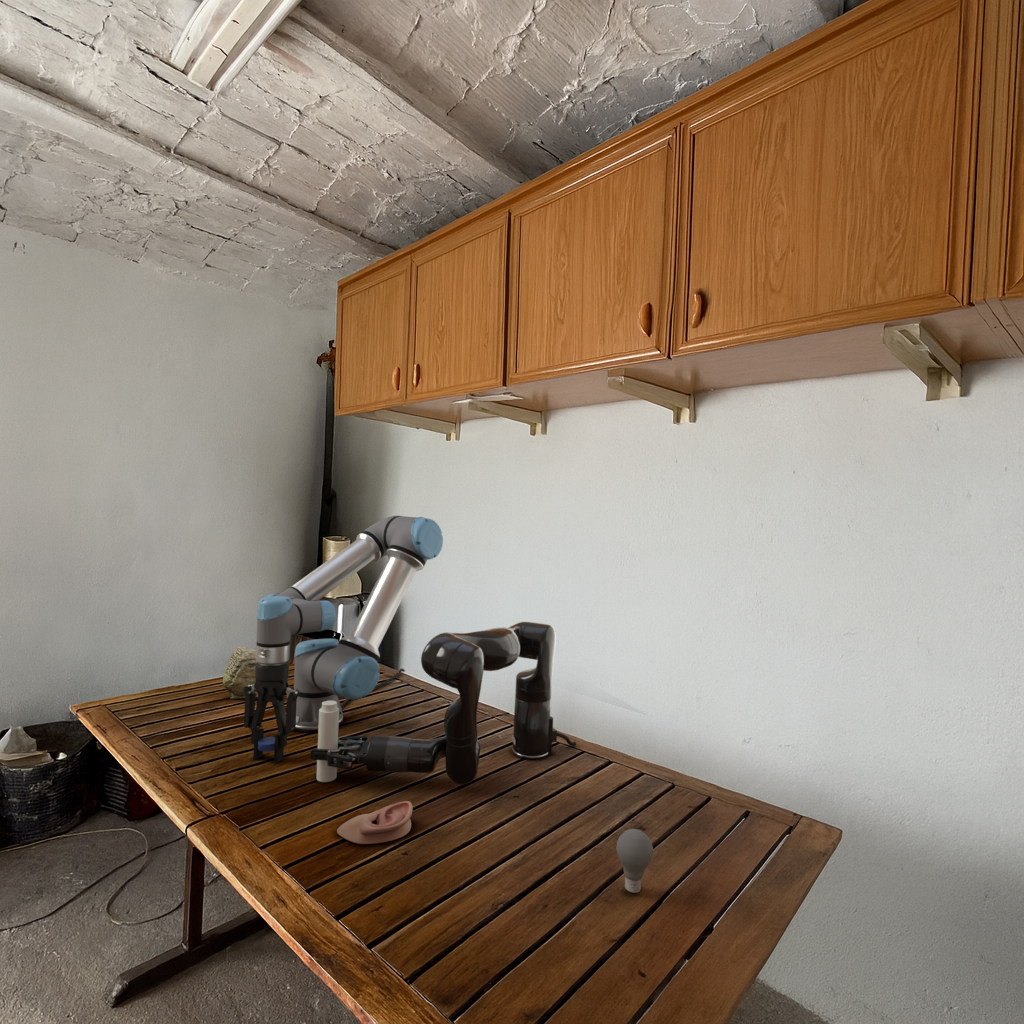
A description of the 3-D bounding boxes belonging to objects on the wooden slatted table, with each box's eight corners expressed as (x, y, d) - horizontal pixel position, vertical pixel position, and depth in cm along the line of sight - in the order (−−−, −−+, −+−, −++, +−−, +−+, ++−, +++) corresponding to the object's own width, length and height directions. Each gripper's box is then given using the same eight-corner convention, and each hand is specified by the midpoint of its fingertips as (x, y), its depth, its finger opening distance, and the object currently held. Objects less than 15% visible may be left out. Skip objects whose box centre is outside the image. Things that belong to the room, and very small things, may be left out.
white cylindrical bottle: (340, 776, 144) (343, 701, 144) (328, 783, 140) (331, 707, 140) (324, 772, 146) (327, 698, 145) (312, 779, 141) (315, 703, 141)
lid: (252, 748, 150) (253, 741, 150) (270, 742, 155) (270, 735, 155) (266, 753, 148) (267, 746, 148) (283, 746, 152) (284, 739, 152)
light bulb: (610, 879, 108) (613, 822, 108) (644, 879, 109) (647, 822, 109) (619, 902, 102) (622, 840, 102) (655, 901, 103) (658, 840, 103)
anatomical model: (329, 818, 117) (357, 790, 128) (328, 839, 117) (356, 810, 128) (397, 828, 114) (419, 799, 126) (396, 850, 114) (418, 819, 126)
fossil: (218, 695, 195) (220, 647, 195) (278, 685, 208) (279, 640, 207) (228, 703, 189) (230, 653, 188) (289, 692, 201) (290, 645, 201)
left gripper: (229, 662, 149) (225, 760, 150) (298, 669, 146) (293, 770, 146) (248, 654, 156) (244, 748, 157) (314, 661, 153) (310, 757, 153)
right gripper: (398, 726, 149) (326, 722, 150) (383, 750, 135) (304, 745, 135) (396, 757, 149) (325, 753, 150) (382, 784, 135) (302, 780, 136)
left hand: (268, 758), depth 151 cm, fingers closed on lid, 5 cm apart
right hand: (315, 749), depth 143 cm, fingers closed on white cylindrical bottle, 4 cm apart
